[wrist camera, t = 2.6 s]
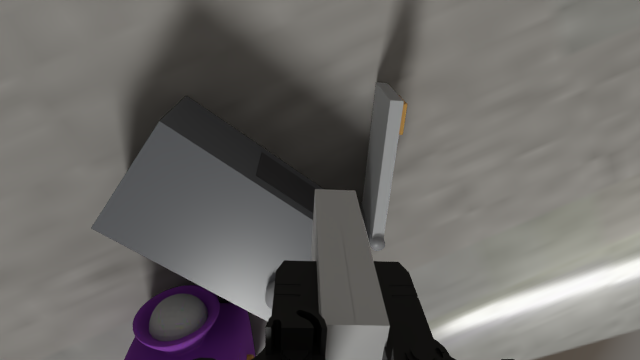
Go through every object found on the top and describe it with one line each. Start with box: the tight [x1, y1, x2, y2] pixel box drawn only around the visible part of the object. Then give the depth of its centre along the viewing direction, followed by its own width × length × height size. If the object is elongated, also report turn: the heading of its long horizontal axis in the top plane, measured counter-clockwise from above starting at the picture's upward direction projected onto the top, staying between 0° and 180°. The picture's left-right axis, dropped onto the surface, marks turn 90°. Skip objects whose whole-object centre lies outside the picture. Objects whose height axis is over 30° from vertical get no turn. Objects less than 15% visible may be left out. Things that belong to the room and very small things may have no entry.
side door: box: [360, 82, 407, 251], centre depth 28 cm, size 10×2×6 cm, turn 177°
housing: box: [91, 96, 322, 322], centre depth 29 cm, size 18×9×7 cm, turn 52°
